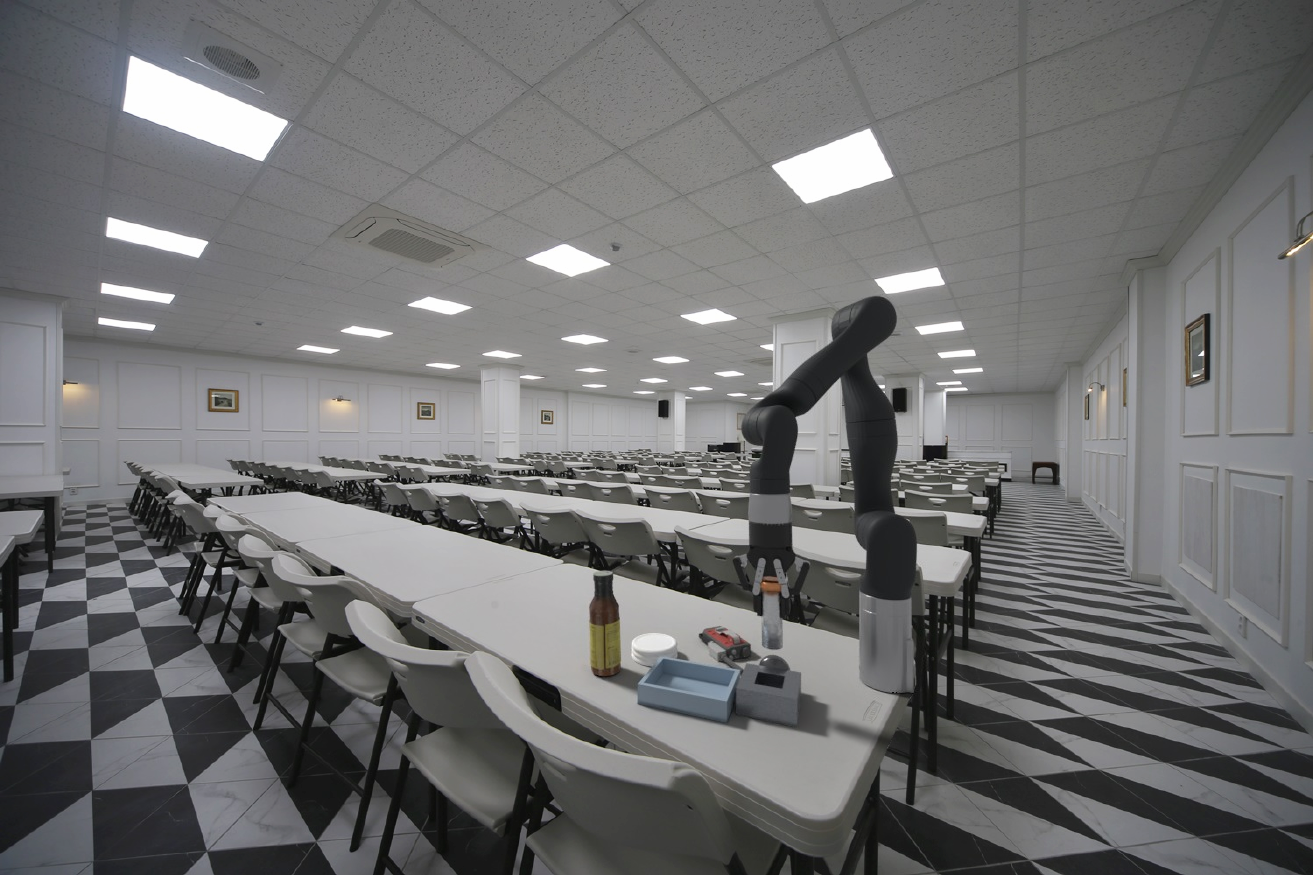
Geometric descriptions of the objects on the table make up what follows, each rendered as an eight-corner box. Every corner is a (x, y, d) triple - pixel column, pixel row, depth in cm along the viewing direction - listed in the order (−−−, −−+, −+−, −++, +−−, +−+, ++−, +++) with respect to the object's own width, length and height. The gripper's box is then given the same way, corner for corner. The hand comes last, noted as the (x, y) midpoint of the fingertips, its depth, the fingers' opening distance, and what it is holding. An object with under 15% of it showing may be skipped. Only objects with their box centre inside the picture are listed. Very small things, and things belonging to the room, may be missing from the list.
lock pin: (786, 642, 85) (785, 577, 85) (784, 652, 81) (783, 584, 81) (761, 639, 87) (760, 575, 87) (758, 648, 82) (756, 582, 83)
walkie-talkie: (690, 642, 112) (738, 680, 94) (690, 623, 112) (738, 657, 94) (722, 636, 115) (774, 671, 97) (722, 617, 116) (774, 650, 97)
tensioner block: (801, 691, 89) (801, 658, 89) (797, 727, 77) (797, 690, 78) (748, 681, 92) (748, 650, 92) (736, 714, 81) (736, 679, 81)
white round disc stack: (685, 654, 105) (685, 638, 105) (661, 672, 96) (661, 655, 96) (647, 644, 110) (648, 628, 110) (622, 660, 102) (622, 643, 102)
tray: (740, 688, 90) (740, 669, 90) (726, 722, 78) (726, 701, 78) (660, 673, 95) (660, 656, 95) (637, 703, 84) (637, 683, 84)
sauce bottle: (621, 663, 100) (622, 568, 100) (620, 678, 93) (621, 576, 94) (590, 663, 99) (591, 568, 100) (586, 678, 93) (587, 576, 93)
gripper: (812, 517, 85) (814, 613, 85) (734, 514, 90) (735, 605, 90) (811, 523, 78) (813, 628, 78) (726, 519, 83) (727, 618, 83)
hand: (771, 615), depth 84 cm, fingers closed on lock pin, 3 cm apart
